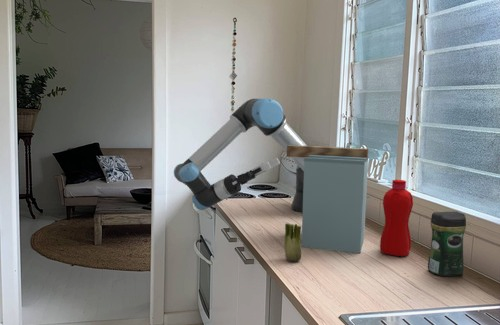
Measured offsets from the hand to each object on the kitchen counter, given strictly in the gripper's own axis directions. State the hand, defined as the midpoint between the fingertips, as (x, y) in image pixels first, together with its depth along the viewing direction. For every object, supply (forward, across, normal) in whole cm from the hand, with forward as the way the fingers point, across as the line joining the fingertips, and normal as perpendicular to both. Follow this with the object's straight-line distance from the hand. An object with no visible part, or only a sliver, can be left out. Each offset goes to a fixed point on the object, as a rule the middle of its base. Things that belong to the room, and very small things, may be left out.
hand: (274, 162), depth 176 cm
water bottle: (+26, +7, -47) cm, 54 cm away
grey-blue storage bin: (+7, +4, -36) cm, 37 cm away
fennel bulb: (-1, +29, -31) cm, 42 cm away
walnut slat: (+18, 0, -8) cm, 20 cm away
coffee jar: (+38, +22, -54) cm, 70 cm away
